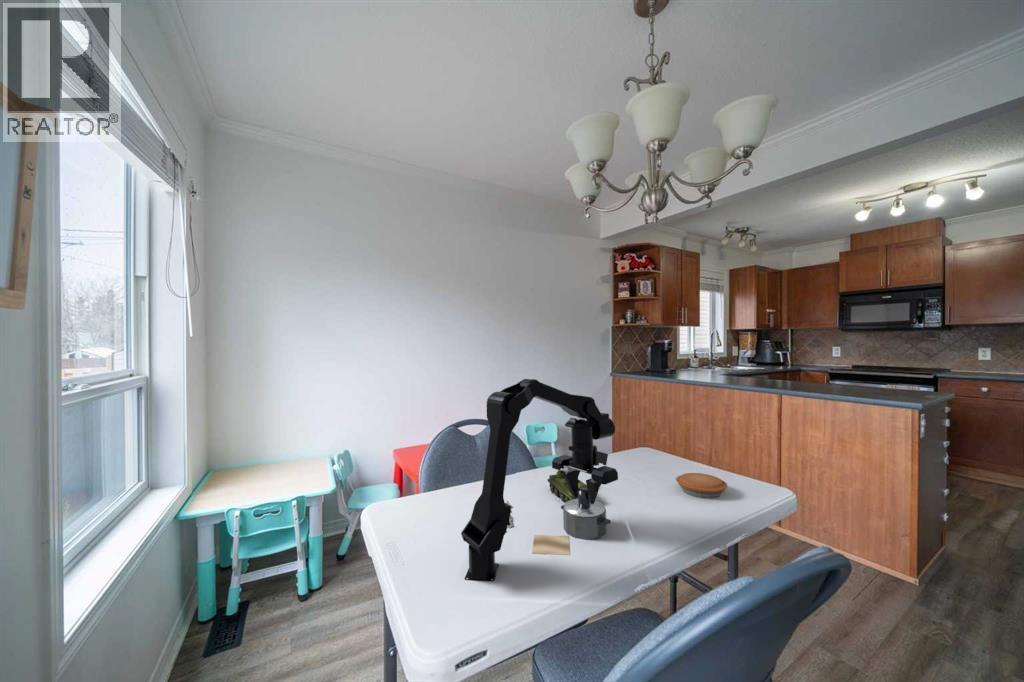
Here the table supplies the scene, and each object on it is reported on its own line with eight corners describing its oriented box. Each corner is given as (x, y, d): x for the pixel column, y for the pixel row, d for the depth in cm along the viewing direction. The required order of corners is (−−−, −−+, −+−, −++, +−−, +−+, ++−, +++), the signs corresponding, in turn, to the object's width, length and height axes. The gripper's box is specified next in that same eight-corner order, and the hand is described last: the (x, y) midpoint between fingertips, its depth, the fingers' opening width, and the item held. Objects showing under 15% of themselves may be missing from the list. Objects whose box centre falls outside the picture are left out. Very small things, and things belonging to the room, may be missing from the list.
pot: (620, 534, 97) (619, 511, 97) (593, 549, 90) (592, 524, 90) (578, 516, 108) (577, 495, 108) (551, 528, 101) (551, 506, 101)
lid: (607, 522, 93) (607, 497, 93) (564, 521, 94) (564, 497, 94) (602, 504, 104) (601, 482, 104) (563, 503, 105) (563, 482, 105)
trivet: (570, 557, 86) (570, 554, 86) (532, 555, 87) (532, 553, 87) (568, 538, 95) (568, 535, 95) (534, 537, 96) (534, 534, 96)
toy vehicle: (570, 485, 134) (569, 458, 134) (599, 506, 115) (598, 474, 115) (546, 489, 131) (545, 461, 131) (573, 511, 112) (572, 478, 112)
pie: (669, 484, 132) (668, 470, 132) (713, 483, 131) (712, 469, 131) (687, 501, 116) (687, 486, 117) (737, 501, 116) (737, 485, 116)
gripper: (629, 443, 97) (631, 502, 97) (576, 432, 112) (577, 484, 111) (603, 451, 90) (605, 515, 90) (550, 438, 105) (551, 493, 104)
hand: (584, 500), depth 99 cm, fingers open, 5 cm apart
